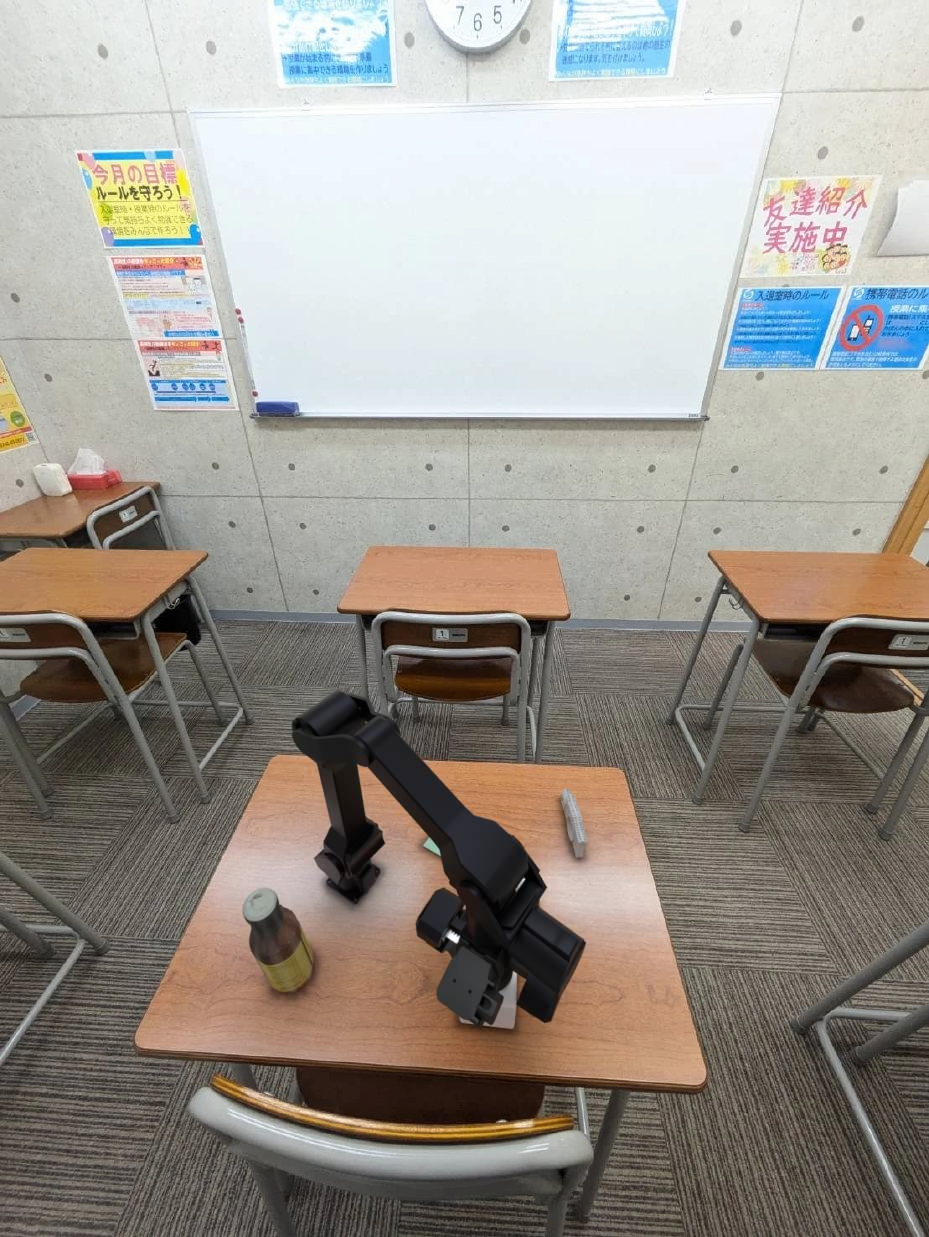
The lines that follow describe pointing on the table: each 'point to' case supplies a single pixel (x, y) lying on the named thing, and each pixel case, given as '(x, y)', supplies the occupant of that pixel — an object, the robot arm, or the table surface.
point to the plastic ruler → (432, 847)
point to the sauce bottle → (278, 942)
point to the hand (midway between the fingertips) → (488, 979)
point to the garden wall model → (574, 822)
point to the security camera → (505, 1001)
